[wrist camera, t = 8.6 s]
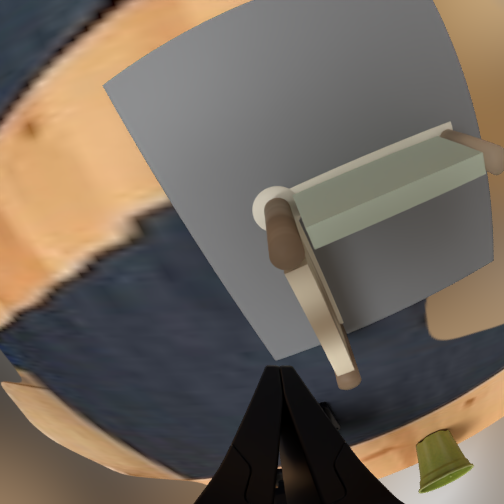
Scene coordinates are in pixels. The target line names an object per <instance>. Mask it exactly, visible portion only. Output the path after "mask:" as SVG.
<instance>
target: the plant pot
mask: <svg viewBox="0 0 504 504" xmlns="http://www.w3.org/2000/svg"><path fill="white" fill-rule="evenodd" d="M416 449H417V456H418V463H419V470H420V479H421V481H420V489H419V493H426V492H429V491H432V490H435V489H437V488H440V487H442V486H444V485H446V484H448V483H451V482H452V481H454V480H456V479H458V478H460V477H461V476H463V475H464V474H466V473H467V472H468V471H470V470H471V469H472V468H473V467H474V465H473V464H470V462H469V461H468V459H466V458H465V456H464V455H463V453H462V452H461V450H460V448H459V446H458V445H457V443H456V441H455V440H454V438H453V436H452V435H451V433H450V431H449V430H446V431H443V430H441V431H437V432H435V433H433V434H431V435H429V436H427V437H426V438H425V439H424V440H423V441H422V442H420V443H418V444H417V446H416Z"/></svg>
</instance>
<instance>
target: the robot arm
mask: <svg viewBox="0 0 504 504" xmlns="http://www.w3.org/2000/svg"><path fill="white" fill-rule="evenodd" d="M340 428H341V427H340V424H339V422H338V421H337V419H336V418H335V416H334V415H333V413H332V412H331V410H330V408H329V407H328V405H327V404H320V405H319V404H318V402H317V401H316V399H315V398H314V396H313V395H312V394H311V392H310V391H309V389H308V388H307V386H306V385H305V384H304V382H303V381H302V379H301V378H300V376H299V375H298V374H297V372H296V371H295V369H294V368H293V367H292V366H280V367H279V366H276V365H267V366H266V367H265V369H264V372H263V374H262V376H261V379H260V381H259V383H258V386H257V388H256V390H255V393H254V395H253V397H252V399H251V402H250V404H249V406H248V408H247V411H246V413H245V415H244V417H243V420H242V422H241V424H240V426H239V428H238V431H237V433H236V435H235V437H234V439H233V441H232V444H231V446H230V447H229V450H228V452H227V454H226V456H225V458H224V460H223V462H222V463H221V465H220V467H219V469H218V470H217V472H216V473H215V475H214V476H213V478H212V479H211V481H210V482H209V484H208V485H207V487H206V488H205V489H204V491H203V492H202V493H201V495H200V496H199V497H198V499H197V500H196V501H195V503H194V504H404V503H403V502H401V501H400V500H399V499H397V498H396V497H395V496H394V495H393V494H392V493H391V492H390V491H389V490H388V489H387V488H386V487H385V486H384V485H383V484H382V483H381V482H380V481H379V480H378V479H377V478H376V477H375V476H374V475H373V474H372V473H371V472H370V471H369V470H368V469H367V468H366V467H365V466H364V464H363V463H362V462H361V461H360V460H359V459H358V457H357V456H356V455H355V453H354V452H353V451H352V450H351V448H350V447H349V445H348V444H347V443H345V440H344V439H343V437H342V436H341V434H340V433H339V432H338V430H339V429H340ZM279 452H280V459H281V466H282V469H277V468H278V457H279Z"/></svg>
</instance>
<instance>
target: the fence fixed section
mask: <svg viewBox="0 0 504 504" xmlns="http://www.w3.org/2000/svg"><path fill="white" fill-rule="evenodd" d="M264 215H265V224H266V233H267V242H268V251H269V259H270V261H271V263H272V264H273V265H274V266H275V267H276V268H278V269H281V270H284V274H285V276H286V278H287V280H288V282H289V284H290V286H291V288H292V289H293V291H294V293H295V295H296V297H297V299H298V301H299V303H300V305H301V307H302V309H303V310H304V312H305V314H306V316H307V318H308V320H309V322H310V324H311V326H312V328H313V330H314V332H315V334H316V336H317V337H318V339H319V341H320V343H321V345H322V347H323V349H324V351H325V353H326V355H327V357H328V359H329V361H330V363H331V365H332V367H333V369H334V371H335V375H336V379H337V383H338V387H339V388H340V389H343V390H348V389H352V388H354V387H356V386H358V385H359V384H360V382H361V377H360V374H359V371H358V368H357V364H356V361H355V358H354V355H353V352H352V349H351V346H350V343H349V340H348V337H347V334H346V331H345V328H344V326H343V324H340V323H339V320H338V318H337V316H336V313H335V311H334V309H333V306H332V304H331V302H330V300H329V297H328V295H327V293H326V290H325V288H324V286H323V284H322V281H321V279H320V277H319V275H318V272H317V270H316V268H315V266H314V264H313V261H312V259H311V257H310V255H309V253H308V251H307V248H306V246H305V244H304V242H303V240H302V238H301V236H300V233H299V231H298V228H297V225H296V222H295V219H294V216H293V213H292V210H291V207H290V205H289V203H288V202H287V201H286V200H284V199H282V198H273V199H271V200H269V201H268V202H267V203H266V205H265V207H264Z"/></svg>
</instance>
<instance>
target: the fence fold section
mask: <svg viewBox="0 0 504 504" xmlns="http://www.w3.org/2000/svg"><path fill="white" fill-rule="evenodd" d="M486 171H488V172H490V173H492V174H494V175H499V174H501V173H502V172H503V171H504V148H503V147H501V146H499V145H496V144H494V143H491V142H488V141H485V140H482V139H479V138H476V137H473V136H470V135H467V134H464V133H460V132H457V131H454V130H450V129H446V130H444V131H443V132H442V133H441V135H440V137H439V136H436V137H434V138H431V139H428V140H426V141H423V142H421V143H418V144H415V145H413V146H410V147H408V148H405V149H403V150H400V151H397V152H395V153H392V154H390V155H387V156H385V157H382V158H380V159H377V160H375V161H373V162H370V163H368V164H365V165H363V166H360V167H358V168H355V169H353V170H351V171H348V172H346V173H343V174H341V175H339V176H336V177H334V178H331V179H329V180H327V181H324V182H322V183H320V184H317V185H315V186H313V187H310V188H308V189H306V190H303V191H301V192H299V193H296V194H294V195H293V198H294V200H295V203H296V205H297V208H298V210H299V213H300V215H301V218H302V221H303V223H304V226H305V228H306V231H307V233H308V235H309V237H310V240H311V242H312V244H313V247H314V249H317V248H320V247H322V246H325V245H327V244H329V243H332V242H334V241H336V240H339V239H341V238H343V237H346V236H348V235H350V234H353V233H355V232H357V231H360V230H362V229H364V228H367V227H369V226H371V225H373V224H376V223H378V222H380V221H383V220H385V219H387V218H389V217H392V216H394V215H396V214H399V213H401V212H403V211H405V210H408V209H410V208H412V207H414V206H417V205H419V204H421V203H423V202H426V201H428V200H430V199H432V198H434V197H437V196H439V195H441V194H443V193H446V192H448V191H450V190H452V189H454V188H457V187H459V186H461V185H463V184H465V183H467V182H470V181H472V180H474V179H476V178H478V177H480V176H483V175H485V174H486Z"/></svg>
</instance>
